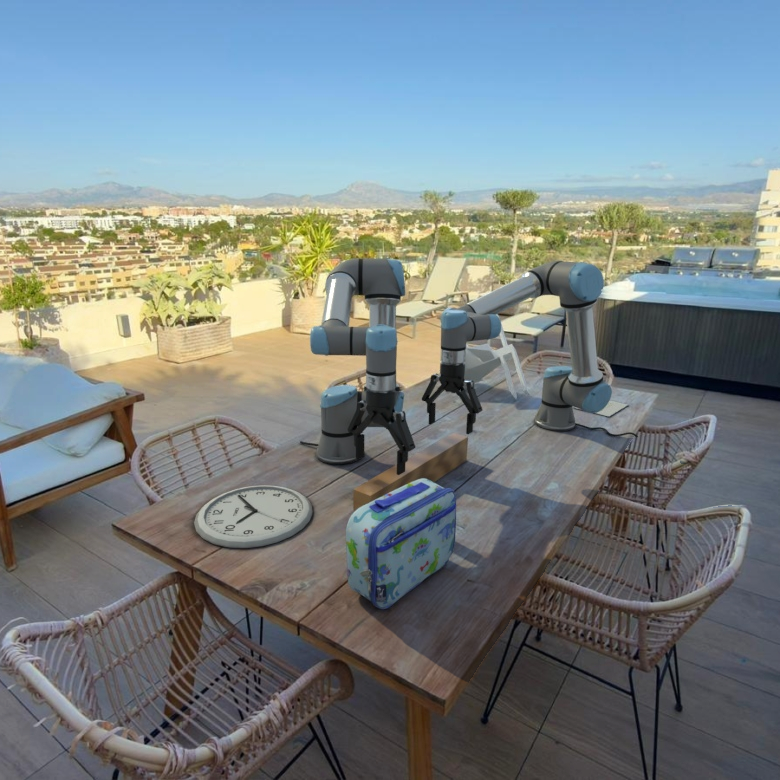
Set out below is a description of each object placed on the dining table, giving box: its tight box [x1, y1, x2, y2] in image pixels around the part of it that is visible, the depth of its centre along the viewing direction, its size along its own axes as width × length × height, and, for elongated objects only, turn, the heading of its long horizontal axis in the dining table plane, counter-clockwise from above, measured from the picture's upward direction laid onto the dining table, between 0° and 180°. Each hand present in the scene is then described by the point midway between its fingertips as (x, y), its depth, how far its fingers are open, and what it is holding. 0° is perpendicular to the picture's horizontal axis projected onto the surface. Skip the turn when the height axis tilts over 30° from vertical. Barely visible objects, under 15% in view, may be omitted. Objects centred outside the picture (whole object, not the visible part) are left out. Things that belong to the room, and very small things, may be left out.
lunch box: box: [345, 478, 457, 610], centre depth 110 cm, size 26×11×21 cm, turn 134°
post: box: [352, 432, 469, 514], centre depth 153 cm, size 50×6×8 cm, turn 143°
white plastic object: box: [438, 313, 531, 400], centre depth 245 cm, size 37×45×31 cm
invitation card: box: [573, 400, 629, 418], centre depth 226 cm, size 21×1×15 cm
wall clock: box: [193, 484, 313, 549], centre depth 137 cm, size 30×2×30 cm
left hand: (379, 465), depth 137 cm, fingers open, 13 cm apart
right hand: (450, 427), depth 164 cm, fingers open, 13 cm apart
